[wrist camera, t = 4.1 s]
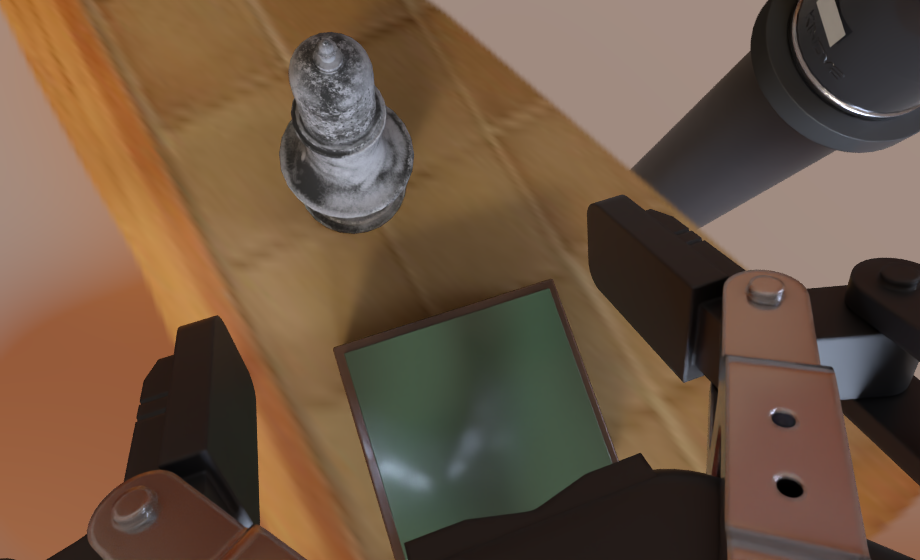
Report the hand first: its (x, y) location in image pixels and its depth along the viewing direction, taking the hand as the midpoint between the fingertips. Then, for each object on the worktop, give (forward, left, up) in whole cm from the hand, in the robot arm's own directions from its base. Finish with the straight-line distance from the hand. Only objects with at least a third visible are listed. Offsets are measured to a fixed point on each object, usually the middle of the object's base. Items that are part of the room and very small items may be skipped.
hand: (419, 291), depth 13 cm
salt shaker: (0, -9, -16) cm, 19 cm away
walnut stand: (-2, +4, -16) cm, 17 cm away
